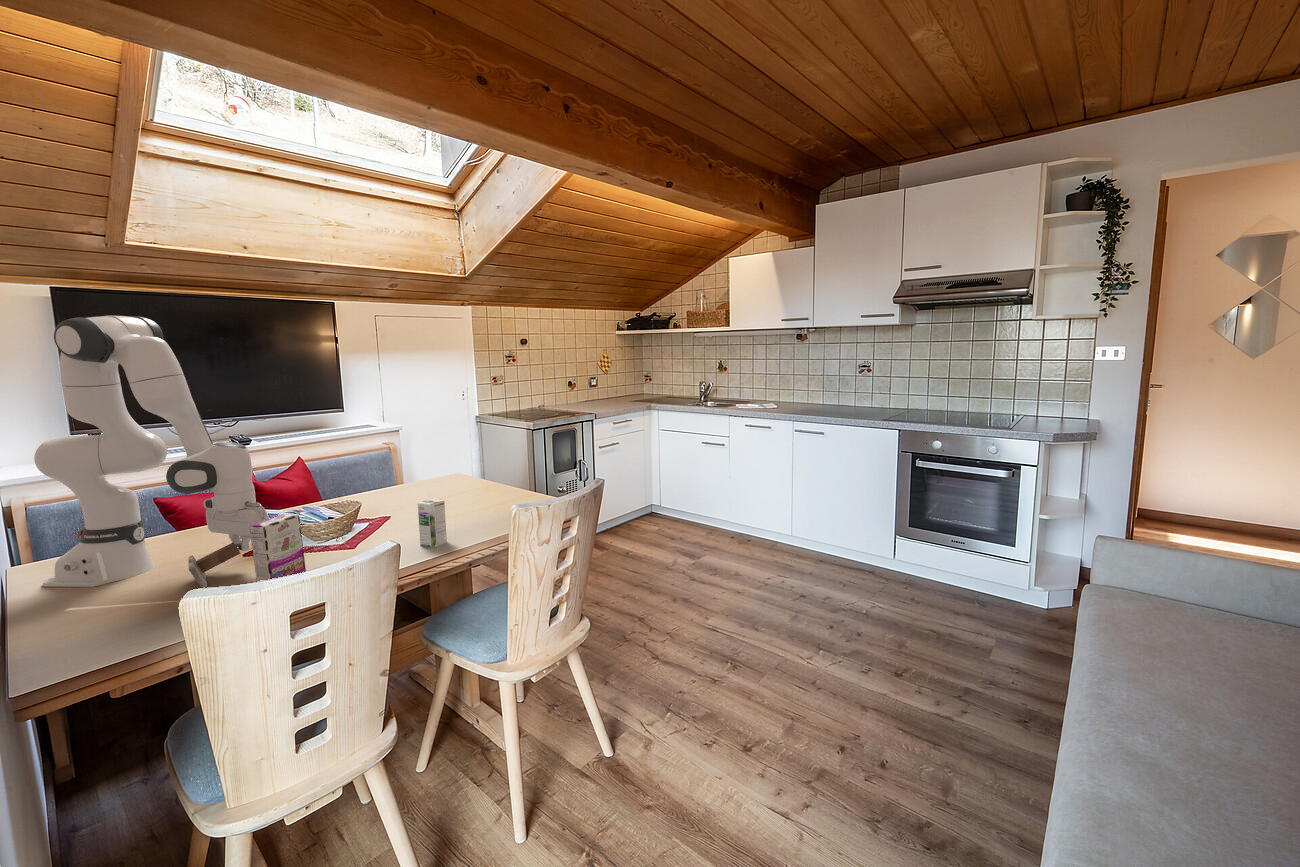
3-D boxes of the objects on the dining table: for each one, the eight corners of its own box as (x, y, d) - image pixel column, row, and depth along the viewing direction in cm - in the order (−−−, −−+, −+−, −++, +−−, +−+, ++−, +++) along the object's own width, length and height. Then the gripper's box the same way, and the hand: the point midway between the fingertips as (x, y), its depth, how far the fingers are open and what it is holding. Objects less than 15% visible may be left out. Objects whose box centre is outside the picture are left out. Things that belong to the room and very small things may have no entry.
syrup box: (419, 549, 170) (416, 502, 169) (433, 543, 176) (430, 498, 174) (434, 551, 168) (431, 504, 167) (448, 545, 174) (445, 499, 172)
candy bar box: (291, 571, 154) (285, 513, 152) (306, 572, 153) (300, 513, 151) (255, 587, 143) (248, 524, 141) (271, 588, 142) (264, 525, 140)
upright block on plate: (188, 557, 149) (230, 536, 154) (201, 575, 151) (242, 554, 156) (188, 570, 138) (233, 547, 144) (202, 589, 140) (246, 566, 146)
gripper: (274, 500, 153) (279, 549, 154) (222, 496, 159) (228, 543, 161) (251, 506, 147) (256, 557, 148) (198, 501, 154) (204, 550, 155)
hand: (241, 549), depth 155 cm, fingers closed
